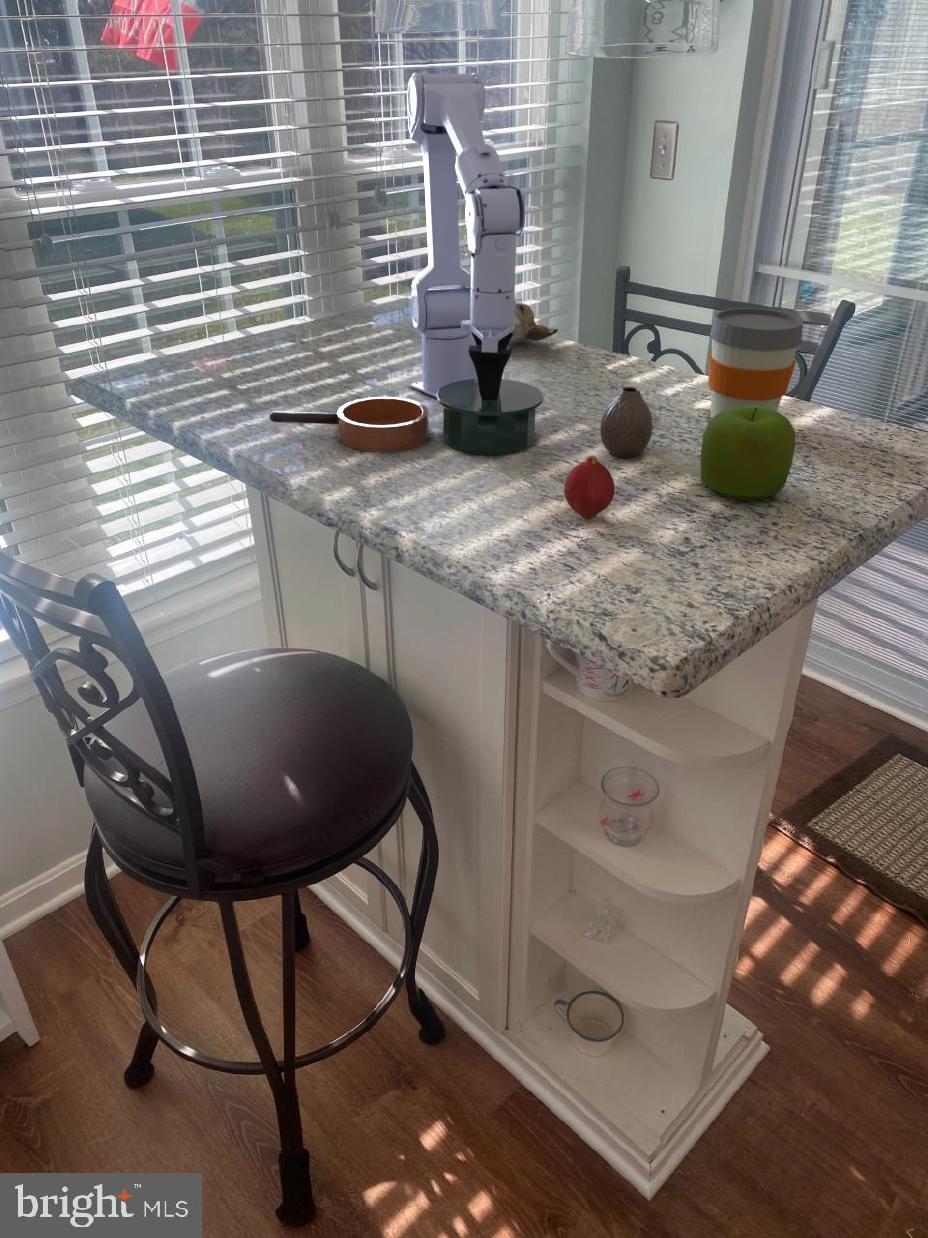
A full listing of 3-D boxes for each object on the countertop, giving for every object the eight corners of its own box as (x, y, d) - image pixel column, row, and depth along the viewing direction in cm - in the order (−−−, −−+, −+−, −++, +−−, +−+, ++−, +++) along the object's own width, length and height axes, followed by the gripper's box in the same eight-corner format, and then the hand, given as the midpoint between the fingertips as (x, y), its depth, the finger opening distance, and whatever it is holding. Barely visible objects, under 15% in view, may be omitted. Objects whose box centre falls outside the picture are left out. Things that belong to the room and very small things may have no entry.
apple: (712, 467, 130) (724, 387, 124) (794, 485, 125) (811, 402, 120) (683, 497, 122) (695, 412, 116) (770, 516, 117) (787, 429, 111)
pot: (533, 418, 146) (535, 379, 142) (533, 464, 130) (535, 421, 127) (448, 415, 146) (449, 376, 143) (438, 461, 131) (438, 418, 128)
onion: (558, 508, 118) (562, 445, 114) (605, 507, 119) (611, 444, 115) (567, 529, 113) (571, 464, 109) (616, 528, 114) (622, 463, 110)
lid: (542, 387, 141) (544, 354, 139) (543, 422, 129) (545, 387, 126) (441, 384, 142) (441, 351, 140) (432, 418, 129) (431, 383, 127)
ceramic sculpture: (462, 293, 175) (523, 286, 184) (459, 342, 179) (519, 333, 188) (502, 305, 168) (564, 298, 177) (498, 356, 172) (558, 346, 181)
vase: (617, 465, 130) (624, 400, 126) (588, 447, 136) (593, 385, 131) (659, 456, 133) (667, 393, 129) (629, 439, 138) (636, 378, 134)
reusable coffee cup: (804, 427, 144) (824, 323, 136) (741, 442, 138) (758, 334, 130) (742, 402, 153) (758, 303, 145) (680, 415, 147) (694, 313, 139)
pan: (432, 421, 144) (432, 398, 142) (423, 453, 133) (423, 428, 131) (346, 418, 145) (345, 395, 143) (331, 450, 134) (329, 425, 132)
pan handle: (344, 422, 139) (344, 412, 138) (343, 425, 138) (342, 415, 137) (271, 419, 139) (270, 409, 139) (268, 423, 138) (267, 413, 137)
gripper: (465, 275, 134) (463, 373, 141) (458, 300, 121) (457, 407, 129) (516, 276, 134) (513, 375, 141) (515, 302, 121) (511, 408, 128)
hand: (490, 390), depth 135 cm, fingers open, 7 cm apart
